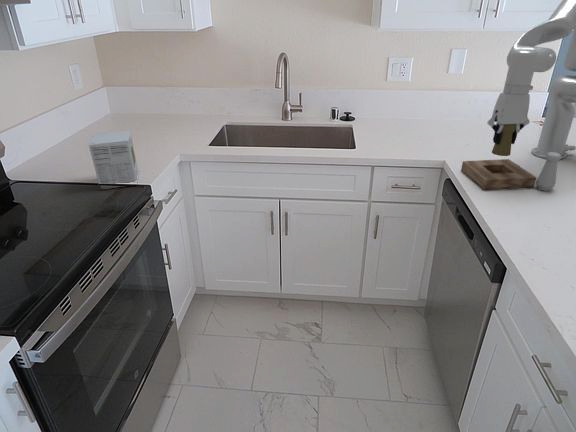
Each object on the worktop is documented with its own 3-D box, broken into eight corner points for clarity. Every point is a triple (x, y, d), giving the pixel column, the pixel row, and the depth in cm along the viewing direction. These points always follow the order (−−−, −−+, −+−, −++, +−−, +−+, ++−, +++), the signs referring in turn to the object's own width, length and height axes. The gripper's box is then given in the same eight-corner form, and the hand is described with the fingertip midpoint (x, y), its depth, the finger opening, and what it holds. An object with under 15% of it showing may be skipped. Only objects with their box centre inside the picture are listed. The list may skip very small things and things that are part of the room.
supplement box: (137, 186, 154) (128, 140, 146) (99, 191, 151) (87, 144, 143) (139, 173, 165) (130, 130, 157) (104, 177, 162) (93, 133, 154)
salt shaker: (547, 185, 147) (557, 150, 140) (557, 192, 142) (568, 155, 135) (531, 185, 147) (540, 150, 140) (540, 192, 142) (550, 156, 135)
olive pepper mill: (490, 154, 146) (498, 123, 141) (492, 149, 151) (499, 119, 146) (509, 157, 144) (518, 125, 139) (510, 152, 148) (518, 121, 143)
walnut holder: (506, 168, 161) (508, 159, 159) (533, 188, 145) (536, 177, 143) (460, 171, 160) (462, 161, 158) (483, 190, 144) (485, 179, 142)
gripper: (534, 86, 141) (520, 139, 149) (485, 88, 140) (475, 140, 148) (548, 91, 134) (533, 145, 143) (497, 92, 133) (485, 147, 142)
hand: (503, 142), depth 146 cm, fingers closed on olive pepper mill, 4 cm apart
